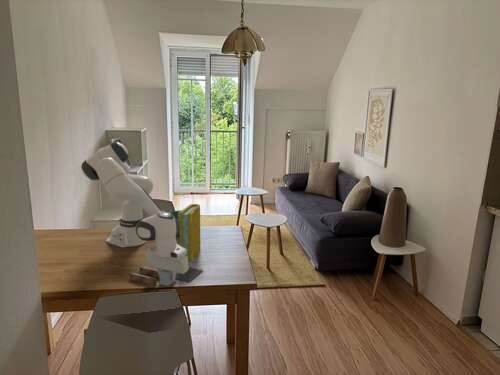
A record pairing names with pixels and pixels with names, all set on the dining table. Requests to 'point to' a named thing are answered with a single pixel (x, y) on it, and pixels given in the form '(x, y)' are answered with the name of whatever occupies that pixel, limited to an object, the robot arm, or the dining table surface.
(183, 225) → the book
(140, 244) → the robot arm
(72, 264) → the dining table surface
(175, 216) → the plant pot
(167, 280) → the blank
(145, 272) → the shelf slot
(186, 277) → the mat
